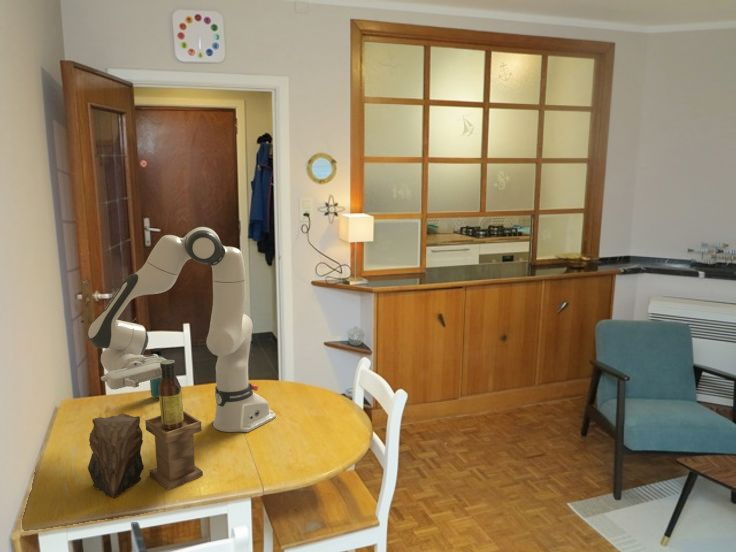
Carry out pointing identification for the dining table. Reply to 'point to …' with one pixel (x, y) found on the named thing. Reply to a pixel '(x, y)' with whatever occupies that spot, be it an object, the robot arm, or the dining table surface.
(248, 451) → the dining table surface
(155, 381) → the beverage bottle
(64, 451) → the dining table surface
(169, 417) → the sauce bottle
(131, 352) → the robot arm
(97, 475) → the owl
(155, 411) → the dining table surface
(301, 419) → the dining table surface
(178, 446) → the display stand
